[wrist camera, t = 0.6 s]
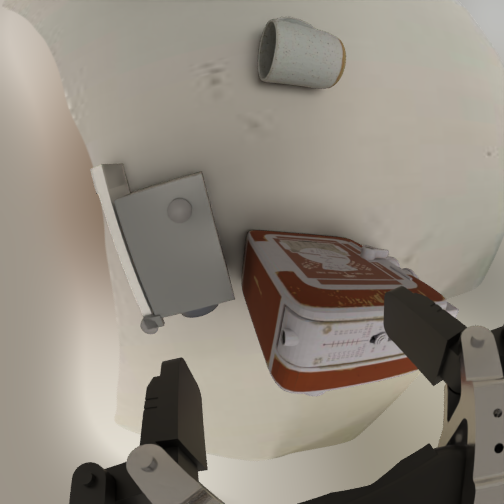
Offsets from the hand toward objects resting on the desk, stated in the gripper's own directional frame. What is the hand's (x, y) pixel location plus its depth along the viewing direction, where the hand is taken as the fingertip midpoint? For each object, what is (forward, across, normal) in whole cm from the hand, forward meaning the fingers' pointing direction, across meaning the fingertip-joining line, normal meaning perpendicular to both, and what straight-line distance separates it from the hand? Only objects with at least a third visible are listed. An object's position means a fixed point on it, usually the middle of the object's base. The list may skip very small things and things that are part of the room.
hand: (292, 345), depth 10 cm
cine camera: (+24, -9, +9) cm, 27 cm away
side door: (+23, +11, -1) cm, 26 cm away
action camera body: (+24, +7, +1) cm, 25 cm away
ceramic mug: (+24, -12, -18) cm, 32 cm away
